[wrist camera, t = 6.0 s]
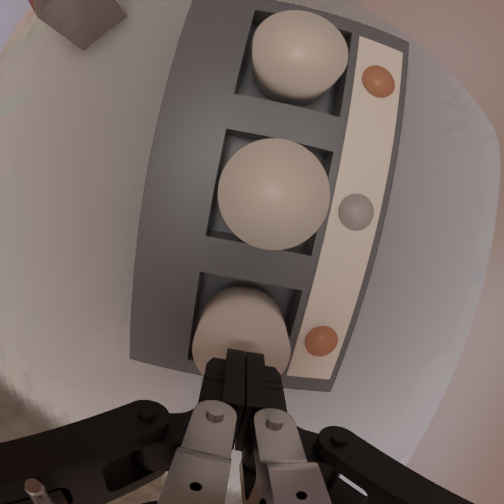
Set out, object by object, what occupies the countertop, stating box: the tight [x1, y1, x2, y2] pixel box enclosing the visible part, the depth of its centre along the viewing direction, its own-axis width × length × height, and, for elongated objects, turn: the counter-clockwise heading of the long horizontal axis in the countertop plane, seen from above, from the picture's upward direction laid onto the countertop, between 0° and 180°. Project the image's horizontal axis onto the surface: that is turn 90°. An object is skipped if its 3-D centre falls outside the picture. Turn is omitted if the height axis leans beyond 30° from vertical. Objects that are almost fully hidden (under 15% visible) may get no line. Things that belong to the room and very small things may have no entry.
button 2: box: [252, 10, 348, 106], centre depth 13 cm, size 4×4×3 cm
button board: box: [130, 0, 409, 392], centre depth 16 cm, size 21×12×3 cm, turn 169°
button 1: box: [192, 286, 291, 376], centre depth 15 cm, size 4×4×3 cm
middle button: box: [218, 138, 330, 250], centre depth 13 cm, size 4×4×3 cm
